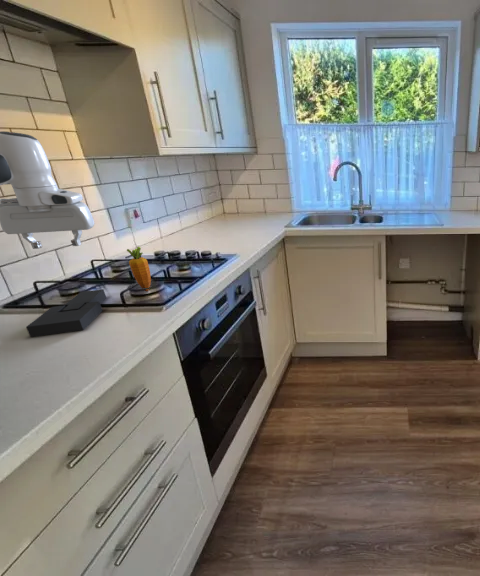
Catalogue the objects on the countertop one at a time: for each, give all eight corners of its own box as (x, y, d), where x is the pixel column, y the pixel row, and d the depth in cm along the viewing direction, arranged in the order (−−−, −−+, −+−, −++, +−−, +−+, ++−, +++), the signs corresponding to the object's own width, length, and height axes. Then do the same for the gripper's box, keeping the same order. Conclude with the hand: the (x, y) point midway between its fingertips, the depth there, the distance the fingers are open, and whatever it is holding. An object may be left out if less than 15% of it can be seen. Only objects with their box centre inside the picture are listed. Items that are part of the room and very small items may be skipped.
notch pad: (30, 337, 92) (25, 326, 90) (55, 316, 102) (51, 306, 101) (83, 330, 94) (79, 320, 93) (102, 310, 105) (99, 301, 104)
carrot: (134, 293, 116) (120, 248, 110) (148, 287, 121) (135, 244, 115) (146, 295, 115) (132, 250, 109) (159, 289, 119) (146, 245, 113)
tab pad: (60, 320, 100) (56, 311, 99) (84, 300, 112) (81, 291, 111) (86, 317, 101) (82, 308, 100) (106, 297, 114) (103, 289, 112)
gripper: (-17, 201, 92) (5, 253, 97) (77, 197, 97) (93, 247, 102) (0, 197, 97) (20, 246, 103) (88, 194, 102) (103, 241, 108)
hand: (57, 246), depth 102 cm, fingers open, 8 cm apart
